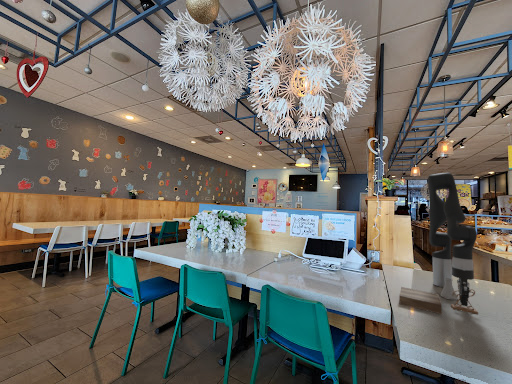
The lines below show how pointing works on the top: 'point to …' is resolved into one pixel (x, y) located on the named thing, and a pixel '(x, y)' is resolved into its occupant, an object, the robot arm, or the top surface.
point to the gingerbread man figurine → (460, 307)
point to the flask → (448, 290)
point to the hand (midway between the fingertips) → (463, 304)
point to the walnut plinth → (420, 300)
